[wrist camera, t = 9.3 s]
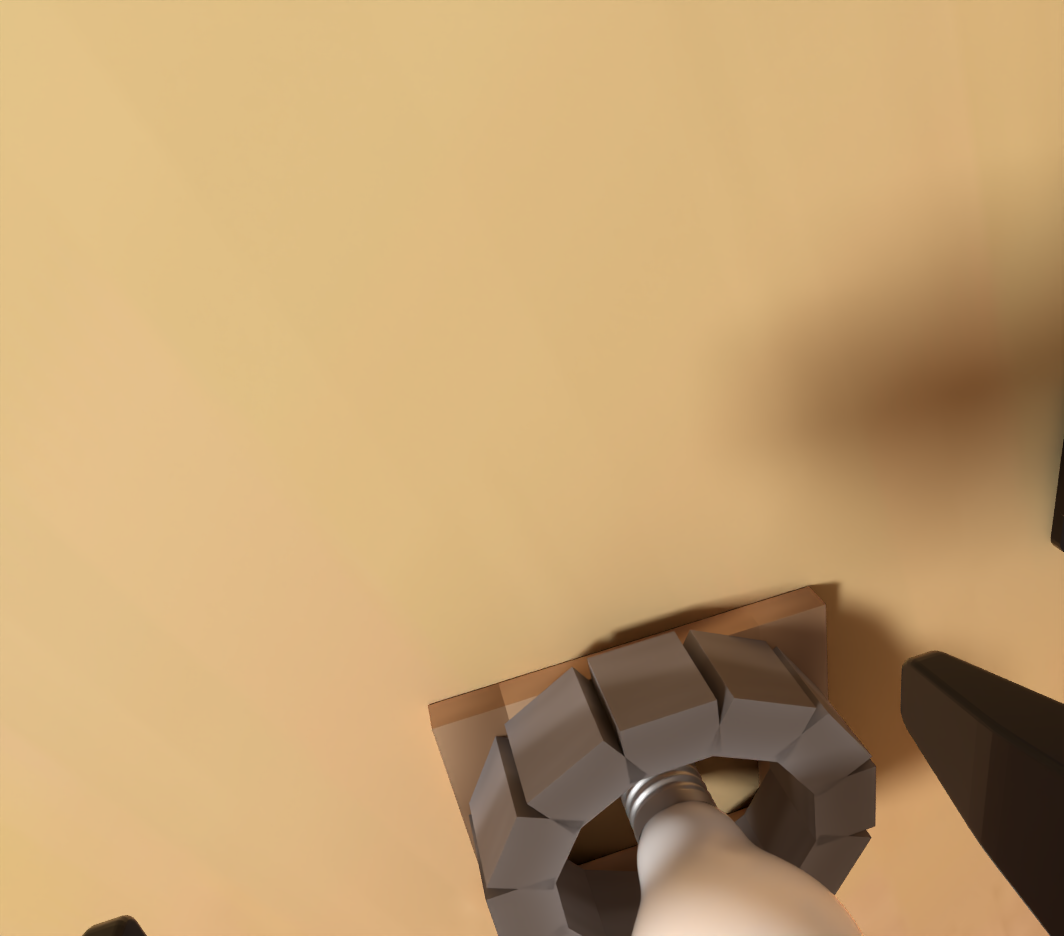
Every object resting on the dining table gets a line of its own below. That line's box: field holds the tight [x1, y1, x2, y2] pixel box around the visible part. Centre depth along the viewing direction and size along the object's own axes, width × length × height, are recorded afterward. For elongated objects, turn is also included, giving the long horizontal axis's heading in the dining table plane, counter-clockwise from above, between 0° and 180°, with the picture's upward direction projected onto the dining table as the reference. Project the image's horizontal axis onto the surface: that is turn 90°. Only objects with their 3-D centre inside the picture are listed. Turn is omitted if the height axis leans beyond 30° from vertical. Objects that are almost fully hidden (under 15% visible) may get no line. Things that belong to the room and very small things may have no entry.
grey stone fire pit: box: [428, 586, 876, 936], centre depth 27 cm, size 12×12×4 cm
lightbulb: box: [620, 763, 864, 936], centre depth 24 cm, size 6×6×11 cm
